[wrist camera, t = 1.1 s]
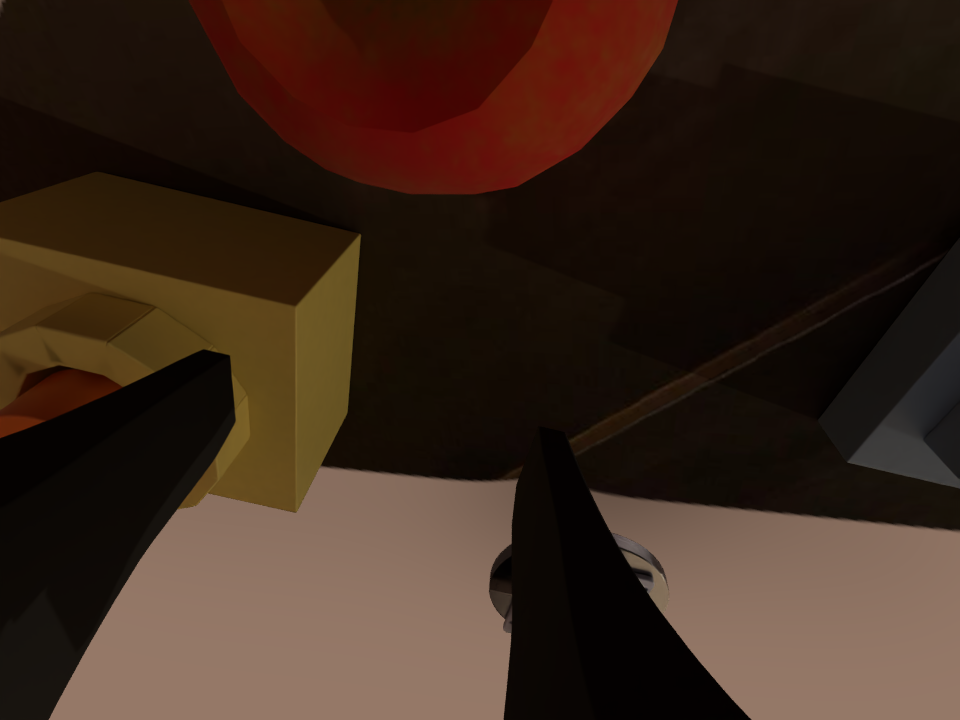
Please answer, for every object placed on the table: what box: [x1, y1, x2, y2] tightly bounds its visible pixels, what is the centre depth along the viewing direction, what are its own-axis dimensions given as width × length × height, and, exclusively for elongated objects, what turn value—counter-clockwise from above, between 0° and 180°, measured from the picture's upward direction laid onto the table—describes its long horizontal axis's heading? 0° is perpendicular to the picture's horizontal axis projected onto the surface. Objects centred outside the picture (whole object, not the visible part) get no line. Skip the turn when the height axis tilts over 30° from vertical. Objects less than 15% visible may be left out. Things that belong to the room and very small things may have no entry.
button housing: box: [0, 171, 361, 513], centre depth 18 cm, size 9×10×8 cm
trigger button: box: [0, 369, 122, 438], centre depth 14 cm, size 4×4×2 cm
